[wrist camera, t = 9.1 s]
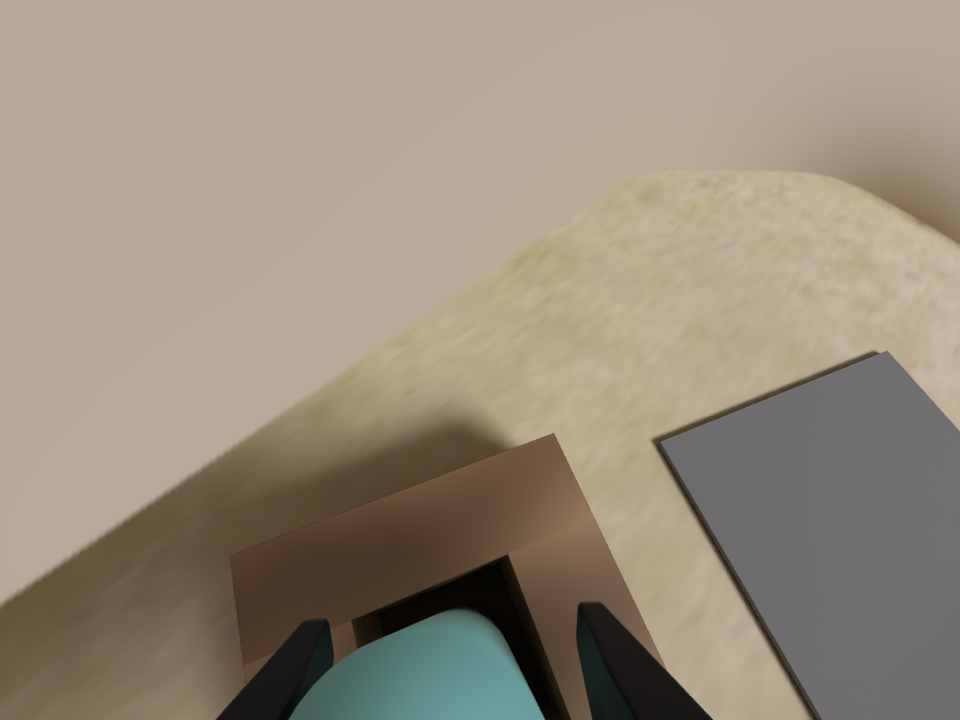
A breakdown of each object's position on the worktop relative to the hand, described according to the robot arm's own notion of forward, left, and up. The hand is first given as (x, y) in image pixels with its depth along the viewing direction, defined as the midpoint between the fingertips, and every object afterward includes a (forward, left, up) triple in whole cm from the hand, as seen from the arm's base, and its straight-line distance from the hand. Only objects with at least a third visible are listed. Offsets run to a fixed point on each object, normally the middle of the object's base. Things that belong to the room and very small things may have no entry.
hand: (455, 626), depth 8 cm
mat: (-3, -16, -8) cm, 18 cm away
